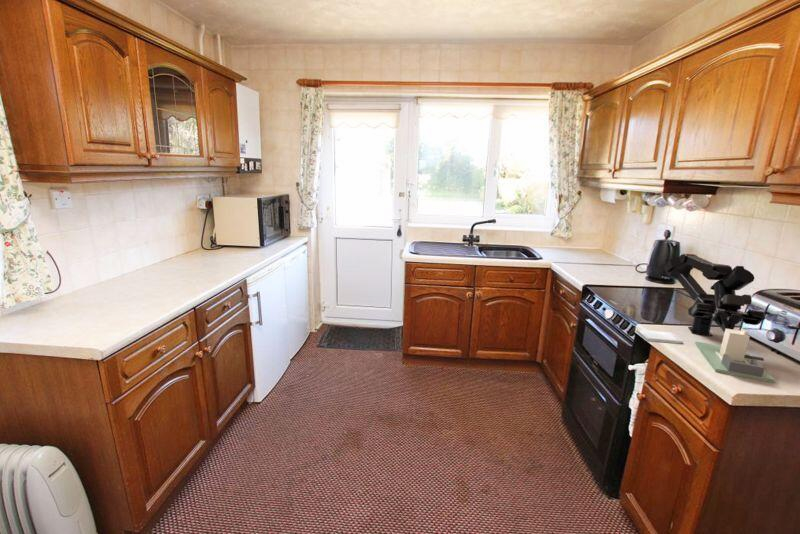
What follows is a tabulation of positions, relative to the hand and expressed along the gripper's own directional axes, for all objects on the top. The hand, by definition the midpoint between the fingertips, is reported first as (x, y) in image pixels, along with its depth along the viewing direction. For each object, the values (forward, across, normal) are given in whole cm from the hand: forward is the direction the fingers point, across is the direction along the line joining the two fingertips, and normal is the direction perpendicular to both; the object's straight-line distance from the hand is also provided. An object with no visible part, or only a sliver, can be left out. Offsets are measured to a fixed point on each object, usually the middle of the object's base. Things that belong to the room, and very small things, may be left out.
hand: (728, 336), depth 128 cm
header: (+14, 0, -6) cm, 15 cm away
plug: (+8, +3, 0) cm, 8 cm away
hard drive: (+1, -18, +9) cm, 20 cm away
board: (+9, 0, +1) cm, 9 cm away
